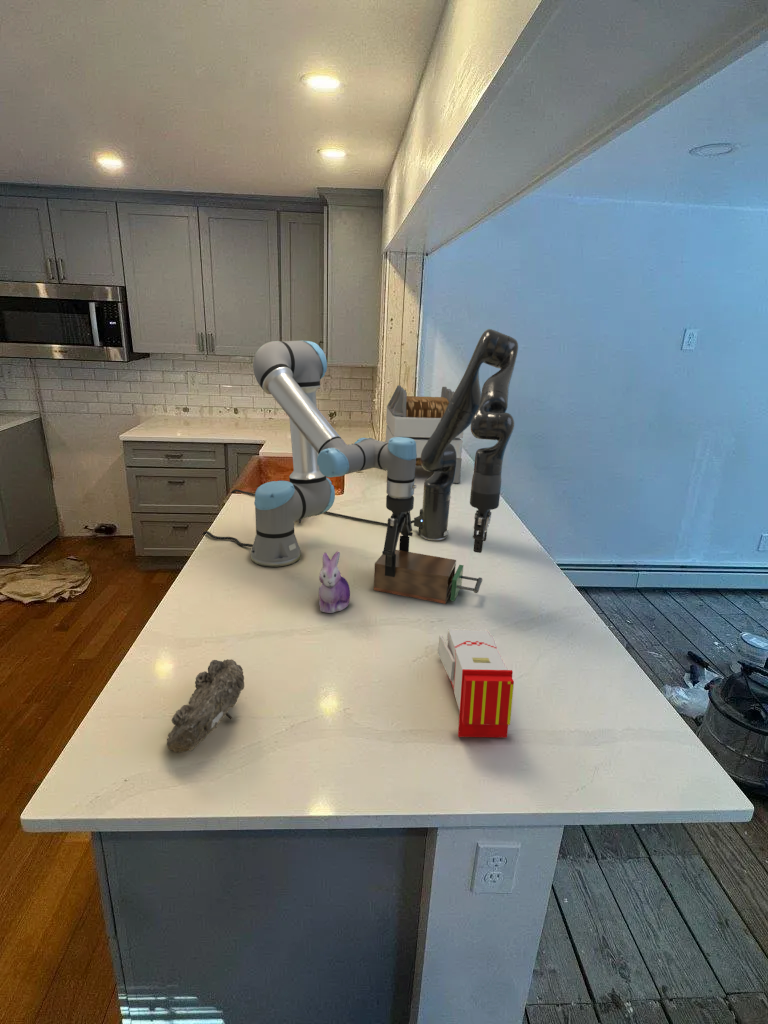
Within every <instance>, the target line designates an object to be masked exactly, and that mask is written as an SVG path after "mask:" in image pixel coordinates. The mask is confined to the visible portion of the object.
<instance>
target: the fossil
mask: <svg viewBox="0 0 768 1024" xmlns="http://www.w3.org/2000/svg"><path fill="white" fill-rule="evenodd" d="M243 670H244V669H243V667H242V665H240V664H237V662H236V661H235V660H234V659H232V658H231V659H227V658H226V659H224V660H223V661H222V660H217V659H212V660H211V661H210V663H209V665H208V666H207V671H201V672H199V673H198V674H197V675H196V676H195V680H194V684H195V685H194V687H195V689H194V690H193V693H192V694H191V697H190V698H189V700H188V704H184V705H182V706H181V707H180V709H177V710H176V711H175V713H174V715H173V716H172V718H171V723H172V724H173V727H172V730H171V731H170V732H168V734H167V738H166V741H167V742H166V745H167V749H168V750H169V751H173V752H174V753H176V754H178V753H182V752H188V751H189V752H192V751H193V750H195V748H196V747H197V746H199V744H200V743H201V742H203V741H204V740H205V739H206V738H207V737H208V736H209V735H210V734H211V733H212V732H214V730H215V729H217V727H218V726H219V724H220V722H221V721H222V720H223V719H224V718H225V716H226V717H227V719H229V720H233V717H232V715H230V714H229V710H230V709H231V708H234V706H235V704H236V703H237V702H238V699H239V697H240V695H241V693H242V691H243V690H245V689H244V688H245V675H244V671H243Z"/></svg>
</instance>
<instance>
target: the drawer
mask: <svg viewBox="0 0 768 1024" xmlns="http://www.w3.org/2000/svg"><path fill="white" fill-rule="evenodd" d="M452 577H453V570H452V572H451V574H450V576H449V578H448V589H447V593H448V591H449V589H450V586H451V584H452V588H451V593H450V601H452V602H455V601H456V599H457V597H458V595H459V592H460V590H465V591H470V592H473V593H475V594H478V593H479V591H480V588H481V586H482V584H483V578H482V577H478V578H477V577H472V576H466V575H464V564H459V565H458V567H457V569H456V570H455V575H454V577H453V579H452ZM463 579H464V580H470V581H475V585H474V587H468V586H463Z"/></svg>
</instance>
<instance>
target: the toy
mask: <svg viewBox="0 0 768 1024" xmlns="http://www.w3.org/2000/svg"><path fill="white" fill-rule="evenodd" d="M446 640H447V643H446V641H445V639H444V636H443V635H442V634H439V637H438V646H437V656H438V657H439V659H440V661H441V663H442V666H443V668H444V670H445V672H446V674H447V677H448V679H449V681H450V684H451V687H452V690H453V693H454V697H455V701H456V705H457V708H458V711H459V714H458V715H459V716H458V730H457V731H458V732H457V737H458V738H508V731H509V726H510V725H511V717H512V707H513V697H514V696H513V695H514V684H515V680H514V679H513V673H514V671H513V670H512V669H508V667H507V665H506V662H505V661H504V659H503V658H502V655H501V653H500V651H499V649H498V647H497V643H496V639H495V637H494V635H493V634H491V632H490V631H489V629H467V628H466V629H465V628H463V629H461V628H460V629H459V628H448V630H447V639H446Z"/></svg>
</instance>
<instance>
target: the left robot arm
mask: <svg viewBox="0 0 768 1024" xmlns="http://www.w3.org/2000/svg"><path fill="white" fill-rule="evenodd" d="M327 360H328V359H327V357H326V354H325V352H324V350H323V349H322V347H320V345H319V344H317V343H316V342H314V341H311V340H302V339H301V340H300V339H299V340H272V341H268V342H266V343H264V344H262V345H261V346H260V347H259V348H258V349H257V351H256V352H255V354H254V357H253V360H252V361H253V362H252V369H253V374H254V375H253V376H254V378H255V380H256V382H257V384H258V385H259V386H260V388H261V389H262V390H263V391H264V393H265V394H268V395H271V396H272V397H273V399H274V400H275V401H276V402H277V404H278V405H279V407H281V409H282V410H283V411H284V412H285V414H286V415H287V416H288V418H289V429H290V443H291V454H292V455H291V456H292V465H293V466H292V467H293V471H292V472H290V475H289V480H277V481H276V480H272V481H267V482H265V483H262V484H261V485H259V486H258V487H257V488H256V490H255V492H254V494H255V496H254V502H253V503H254V504H253V505H254V507H255V508H254V513H255V537H254V540H253V543H246V542H245V543H244V542H240V540H239V539H238V538H236V537H233V536H217V535H214V534H213V533H211V532H210V531H208V530H205V531H204V532H202V535H203V536H205V535H208V536H209V537H210V538H212V539H213V540H221V541H222V540H223V541H225V540H230V541H234V542H235V543H236V544H237V545H239V546H241V547H249V548H251V549H250V559H251V561H252V562H253V563H254V564H256V565H259V566H261V567H268V568H272V567H273V568H278V567H285V566H289V565H293V564H294V563H296V562H298V561H299V560H300V559H301V556H302V555H301V551H302V550H301V547H300V546H299V543H298V539H297V536H296V534H295V522H299V520H301V521H302V520H305V519H308V518H312V517H315V516H316V517H317V516H319V515H322V514H325V513H324V512H326V511H327V512H329V510H331V508H332V506H333V505H334V503H335V499H336V489H335V486H334V485H333V483H332V481H331V479H330V478H337V477H343V476H346V475H349V474H353V473H357V472H361V471H366V470H371V469H378V470H382V471H386V491H385V492H386V494H387V495H386V499H385V508H386V509H387V510H388V511H390V512H391V513H392V514H391V516H390V517H388V519H387V523H388V526H386V527H387V528H386V533H385V538H384V539H385V540H384V545H383V550H382V552H381V553H382V554H383V555H386V557H385V576H390V577H395V566H396V554H395V551H396V550H397V545H398V541H399V546H398V550H401V551H406V552H410V537H413V535H414V534H413V532H412V531H413V527H412V524H411V521H412V517H411V511H413V509H414V505H415V504H414V503H415V497H414V494H415V489H416V488H417V484H415V482H416V481H415V480H416V476H415V475H416V467H417V466H416V457H417V454H416V442H415V440H413V439H411V438H407V437H394V438H391V439H390V440H389V442H388V443H387V442H386V441H382V440H378V439H375V438H372V437H359V438H358V439H357V440H356V441H355V442H354V443H349V444H347V443H346V442H345V441H344V439H343V438H342V437H341V436H340V435H339V433H338V432H337V430H336V429H335V428H334V427H333V426H332V425H331V423H329V421H328V420H327V418H326V417H325V416H324V415H323V414H322V412H321V411H320V409H318V405H317V404H318V403H317V391H318V390H319V389H320V387H321V379H323V378H324V377H325V375H326V373H327V371H328V361H327ZM382 554H381V555H382Z"/></svg>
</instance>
